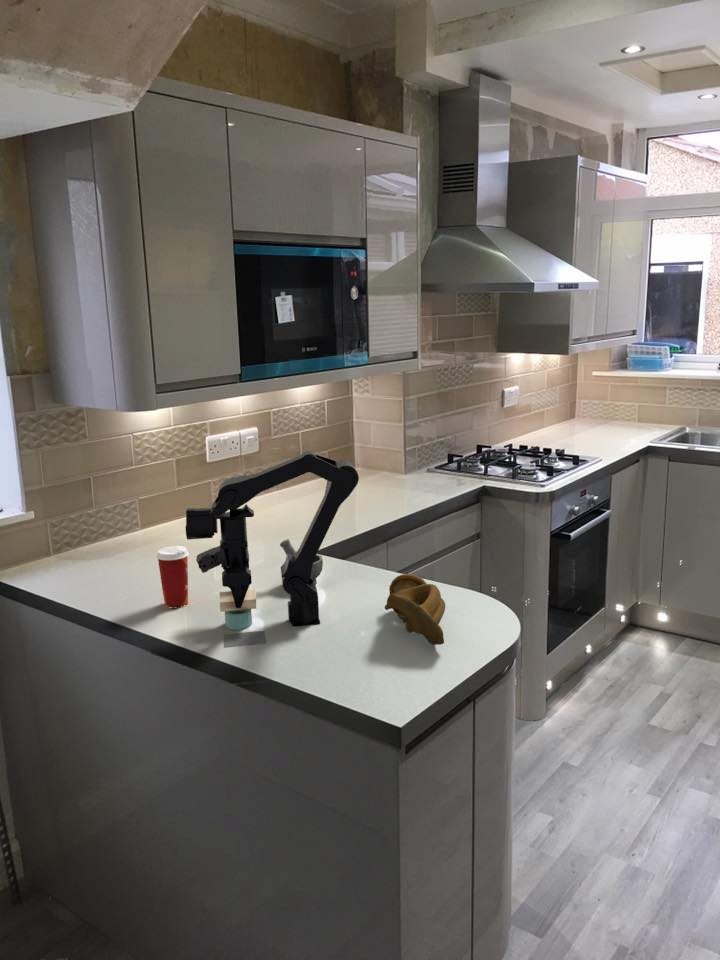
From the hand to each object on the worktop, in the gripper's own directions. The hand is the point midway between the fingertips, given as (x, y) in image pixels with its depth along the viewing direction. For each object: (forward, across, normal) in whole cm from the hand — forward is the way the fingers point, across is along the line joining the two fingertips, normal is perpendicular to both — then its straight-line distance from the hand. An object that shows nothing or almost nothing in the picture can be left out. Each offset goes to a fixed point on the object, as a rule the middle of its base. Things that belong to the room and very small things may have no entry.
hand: (238, 602), depth 177 cm
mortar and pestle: (+6, -24, +17) cm, 30 cm away
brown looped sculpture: (+6, +11, +39) cm, 41 cm away
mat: (+6, +8, +1) cm, 10 cm away
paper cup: (+6, -18, -15) cm, 24 cm away
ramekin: (+6, 0, 0) cm, 6 cm away
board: (+1, 0, 0) cm, 1 cm away
